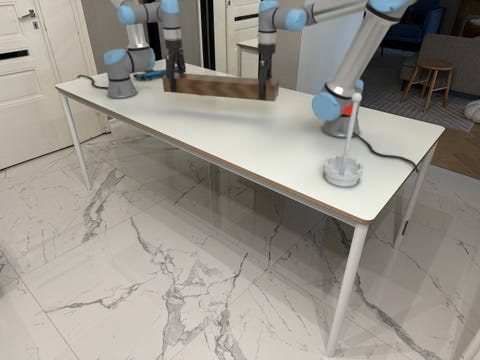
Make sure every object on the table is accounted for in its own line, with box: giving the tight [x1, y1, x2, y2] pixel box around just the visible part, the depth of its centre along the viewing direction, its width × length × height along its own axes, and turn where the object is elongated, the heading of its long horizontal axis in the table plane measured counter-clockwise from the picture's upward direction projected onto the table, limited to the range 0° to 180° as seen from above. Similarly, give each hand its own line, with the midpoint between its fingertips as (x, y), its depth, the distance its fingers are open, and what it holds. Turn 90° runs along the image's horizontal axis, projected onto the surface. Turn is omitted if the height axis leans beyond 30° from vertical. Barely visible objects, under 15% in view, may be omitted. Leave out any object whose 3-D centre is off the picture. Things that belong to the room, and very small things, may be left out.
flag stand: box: [322, 93, 365, 187], centre depth 109 cm, size 13×13×30 cm
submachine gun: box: [132, 65, 179, 81], centre depth 224 cm, size 34×4×25 cm
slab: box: [161, 72, 280, 102], centre depth 156 cm, size 54×8×7 cm, turn 73°
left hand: (178, 88), depth 163 cm, fingers closed on slab, 9 cm apart
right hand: (264, 96), depth 152 cm, fingers closed on slab, 9 cm apart
